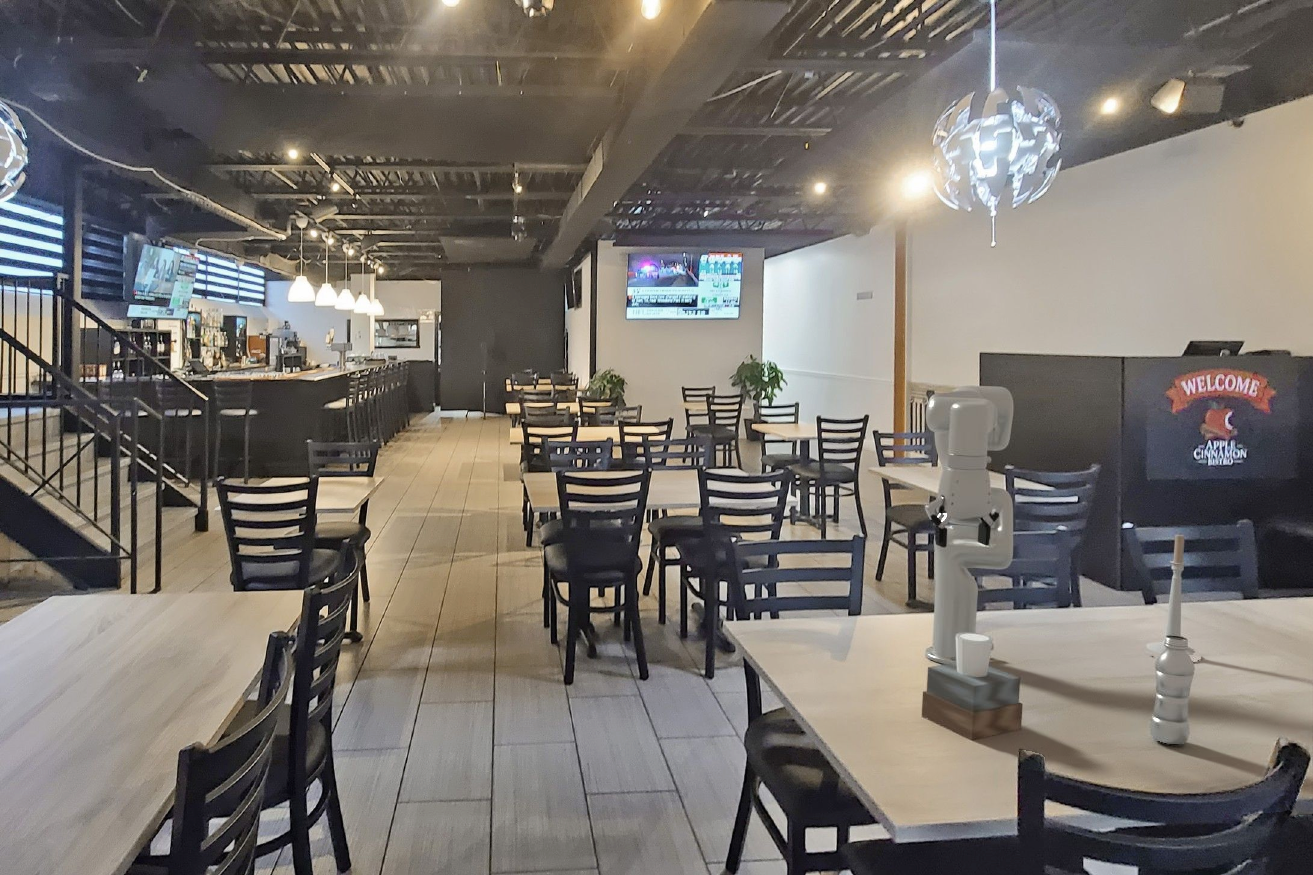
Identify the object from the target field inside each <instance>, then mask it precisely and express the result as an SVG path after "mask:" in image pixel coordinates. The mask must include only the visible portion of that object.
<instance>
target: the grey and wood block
mask: <svg viewBox="0 0 1313 875" xmlns="http://www.w3.org/2000/svg"><path fill="white" fill-rule="evenodd" d="M926 677H927V678H926V679H927V680H926V690H924V691H922V704H921V705H922V706H921V717H922V716H923V717H922V718H924V717H925V718H924V719H926V718H928V719H929V720H928V719H927V720H928V721H930V720H931V721H930V722H932V721H933V723H934V722H935V724H937V725H939V724H940V725H939V726H941V727H943V726H944V727H943V728H945V727H946V728H945V729H947V730H949V729H950V730H949V731H951V730H952V733H953V732H954V733H955V732H956V734H957V733H958V734H957V735H959V736H961V737H964V736H965V738H966V739H968V738H969V739H968V740H970V739H971V740H970V741H973V740H972V739H975V740H978V738H979V739H982V738H983V739H984V738H988V737H992V735H993V736H996V735H1001V734H1000V733H1002V734H1006V733H1011V732H1015V731H1019V730H1022V724H1023V722H1022V720H1023V719H1022V718H1023V708H1024V707H1023V704H1024V703H1021V702H1020V691H1021V690H1020V688H1021V677H1020V676H1016V675H1014V674H1011V673H1009V672H1006V671H1003V670H1001V669H998V668H996V667H993V666H990V665H989V667H988V673H987V675H986V676H984V677H971V676H966V675H962V674H960V673H958V671H957V662H956V663H950V664H939V665H934V666H928V667H927V676H926ZM987 736H988V737H987Z"/></svg>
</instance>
